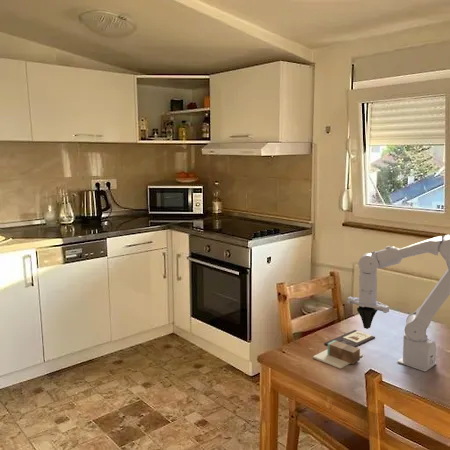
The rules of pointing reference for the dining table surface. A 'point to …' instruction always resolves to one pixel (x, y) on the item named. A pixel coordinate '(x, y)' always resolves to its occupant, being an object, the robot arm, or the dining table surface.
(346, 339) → the chocolate bar
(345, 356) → the walnut block
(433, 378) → the dining table surface
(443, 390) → the dining table surface
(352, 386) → the dining table surface
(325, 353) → the thin cream panel
